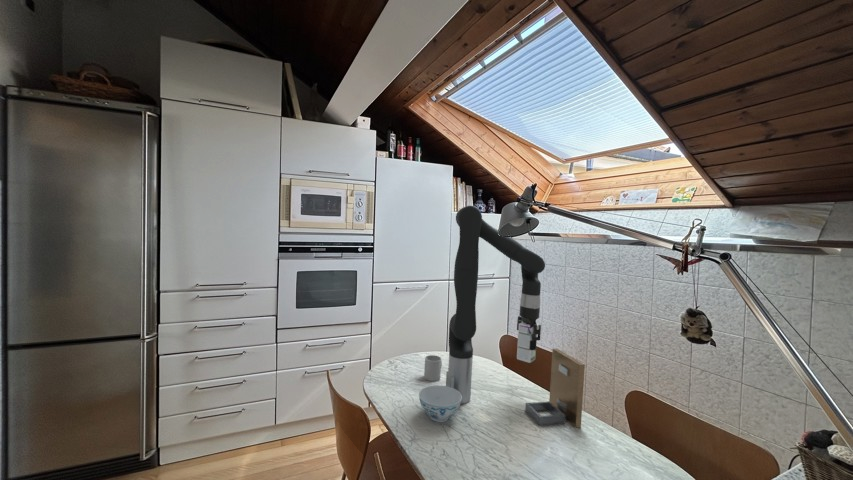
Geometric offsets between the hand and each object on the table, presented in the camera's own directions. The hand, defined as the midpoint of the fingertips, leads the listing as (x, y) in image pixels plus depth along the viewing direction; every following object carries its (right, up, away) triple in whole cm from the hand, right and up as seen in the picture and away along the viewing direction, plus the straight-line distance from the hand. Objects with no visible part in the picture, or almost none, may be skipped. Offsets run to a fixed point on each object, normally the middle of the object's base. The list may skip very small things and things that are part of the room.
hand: (527, 346), depth 135 cm
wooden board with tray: (+5, -22, -11) cm, 25 cm away
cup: (-36, -19, +17) cm, 45 cm away
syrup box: (0, -5, 0) cm, 5 cm away
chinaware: (-35, -20, -15) cm, 44 cm away
